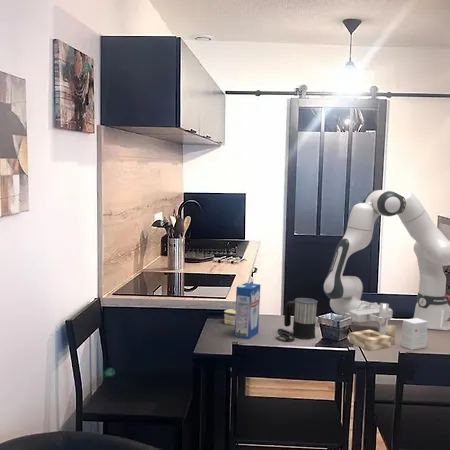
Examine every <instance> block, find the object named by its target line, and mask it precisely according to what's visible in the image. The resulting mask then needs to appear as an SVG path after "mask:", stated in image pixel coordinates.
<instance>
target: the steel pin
mask: <svg viewBox="0 0 450 450" xmlns="http://www.w3.org/2000/svg"><path fill="white" fill-rule="evenodd" d="M379 305H380V308H379V316H380V317H382V321H380V322H378V323H377V324H378V325H377V332H379V333H382V334H384V335H386V333H387V325H389V324H388V323H389V320H388V312H389V308H390V307H389V306H390V303H387V302H380V303H379Z"/></svg>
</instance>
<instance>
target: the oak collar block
mask: <svg viewBox="0 0 450 450" xmlns="http://www.w3.org/2000/svg"><path fill="white" fill-rule="evenodd" d="M349 344H352V345H355V346H357V347H360V348H362V349H365V350H366V351H370V352H371V351H377V350H381V349H387V348H391V346H392V345H391V337H390V336H387V335H384V334H382V333H379V332H378V331H376V330H372V329H366V330H365V329H364V330H359V331H353V332H349Z"/></svg>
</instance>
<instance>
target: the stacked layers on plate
mask: <svg viewBox="0 0 450 450" xmlns="http://www.w3.org/2000/svg"><path fill="white" fill-rule="evenodd" d="M223 312H224V314H223V316H224V318H223V321H224V324H225V325H232V326H235V314H236V309H231V308H229V309H226V310H224V311H223Z"/></svg>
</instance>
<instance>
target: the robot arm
mask: <svg viewBox="0 0 450 450" xmlns="http://www.w3.org/2000/svg"><path fill="white" fill-rule="evenodd" d="M379 216H381V217H382V216H383V217H384V216H385V217H394V216H398V218H399V220H400V222H401V223H402V224H403V226H404V228H405V229H406V231H407V232H408V235H409V236H410V237H411V238H412V239H413V240H414V241H415V243H414V245H413V252H414V254H415V256H416V258H417V265H418V266H417V267H418V271H419V281H418V282H419V285H418V286H419V288H418V292H417V295H416V297H417V299H416V300H417V302H416V304H415V308H414V314H413V317H412V318H411V319H414V318H419V319H422V320H425V321H428V328H427V330H428V329H429V330H437V331H450V305H449V303H448V301H450V295H447V294H446V288H447V276H446V275H445V272H444V270H443V267H445V266H446V267H447V266H450V240H449V239H448V238H447V237H446V236H445V234H444V233H443V232H442V231H441V230H440V229H439V228H438V226H436V224H435V223H434V221H433V220H432V219H431V217H430V215H429V213H428V212H427V210H426V209H425V207H424V206H423V204H422V203H421V201H420V200H419V199H418V197H417V196H416V195H415V194H414V193H413V192H412V191H411V192H410V191H403V192H401V193H397V192H395V191H392V190H388V189H375V190H372V191H370V192H369V193H368V194H367V195H366V196H365V199H363V201H362V202H358V203H357V204H355V205H353V206H352V209H351V211H350V215H349V216H348V217H349V218H348V220H347V224H346V225H347V227H346V230H345V233H344V236H343V237H342V239H340V240H339V242H338V243H337V246H336V248H335V250H334V251H335V252H334V255H333V258H332V259H331V260H332V261H331V264H330V267H329V270H328V273H327V275H326V277H325V278H324V282H323V285H322V287H323V288H322V289H323V292H324V293H325V296H327V297H328V298H329V299H330V300H329V306H330V308H331V310H332V312H334V313H336V314H337V315H340V316H341V315H342V317H344V316H347V317H346V318H349V317H351V318H352V320H351V321H353V322H355V323H366V322H378V323H379V322H380V321H382V317H380V316H379V308H380V304H378V302H375V301H374V302H373V301H365V300H361V299H362V296H363V293H364V292H363V291H364V284H363V282H362V280H361V278H360V277H358V276H356V275H354V276H353V275H343V274H344V271H345V269H346V264H347V261H348V260H349V257H350V256H351V255H353V254H354V253H356V252H358V251H361V250H364V249H365V248H367V246H369V245H370V243H371V241H372V239H373V233H374V227H375V223H376V220H377V219H378V217H379ZM393 313H394V311H393V309H392V308H391V307H389V312H388V321H391V319H392V318H393Z"/></svg>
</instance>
